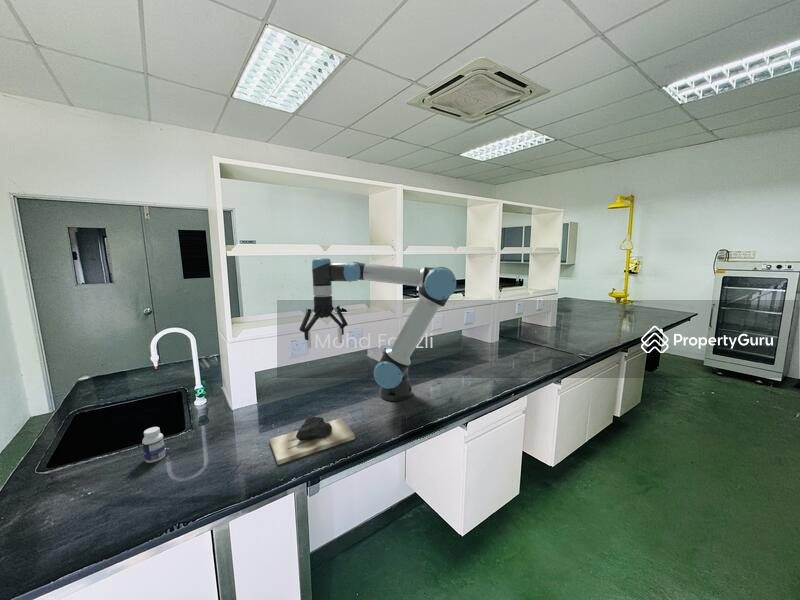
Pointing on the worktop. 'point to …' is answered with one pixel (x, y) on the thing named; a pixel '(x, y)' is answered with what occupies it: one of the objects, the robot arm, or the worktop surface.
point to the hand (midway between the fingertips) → (325, 344)
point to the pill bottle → (153, 445)
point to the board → (309, 442)
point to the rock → (314, 429)
